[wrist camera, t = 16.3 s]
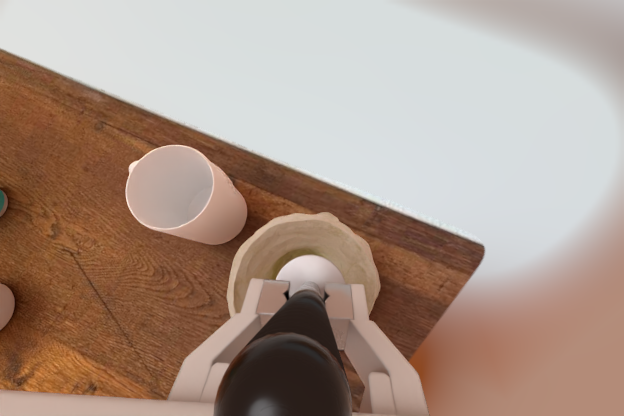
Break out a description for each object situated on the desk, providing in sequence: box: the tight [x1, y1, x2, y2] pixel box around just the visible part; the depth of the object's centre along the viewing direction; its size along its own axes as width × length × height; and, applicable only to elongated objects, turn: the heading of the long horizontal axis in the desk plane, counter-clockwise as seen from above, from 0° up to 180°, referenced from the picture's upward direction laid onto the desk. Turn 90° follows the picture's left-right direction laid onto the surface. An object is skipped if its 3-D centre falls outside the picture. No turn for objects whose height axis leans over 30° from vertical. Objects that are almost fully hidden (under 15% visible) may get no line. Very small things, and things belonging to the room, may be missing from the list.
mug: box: [126, 145, 247, 245], centre depth 31 cm, size 8×12×12 cm
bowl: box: [227, 212, 381, 317], centre depth 30 cm, size 15×14×10 cm
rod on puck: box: [213, 255, 352, 416], centre depth 12 cm, size 5×5×20 cm
